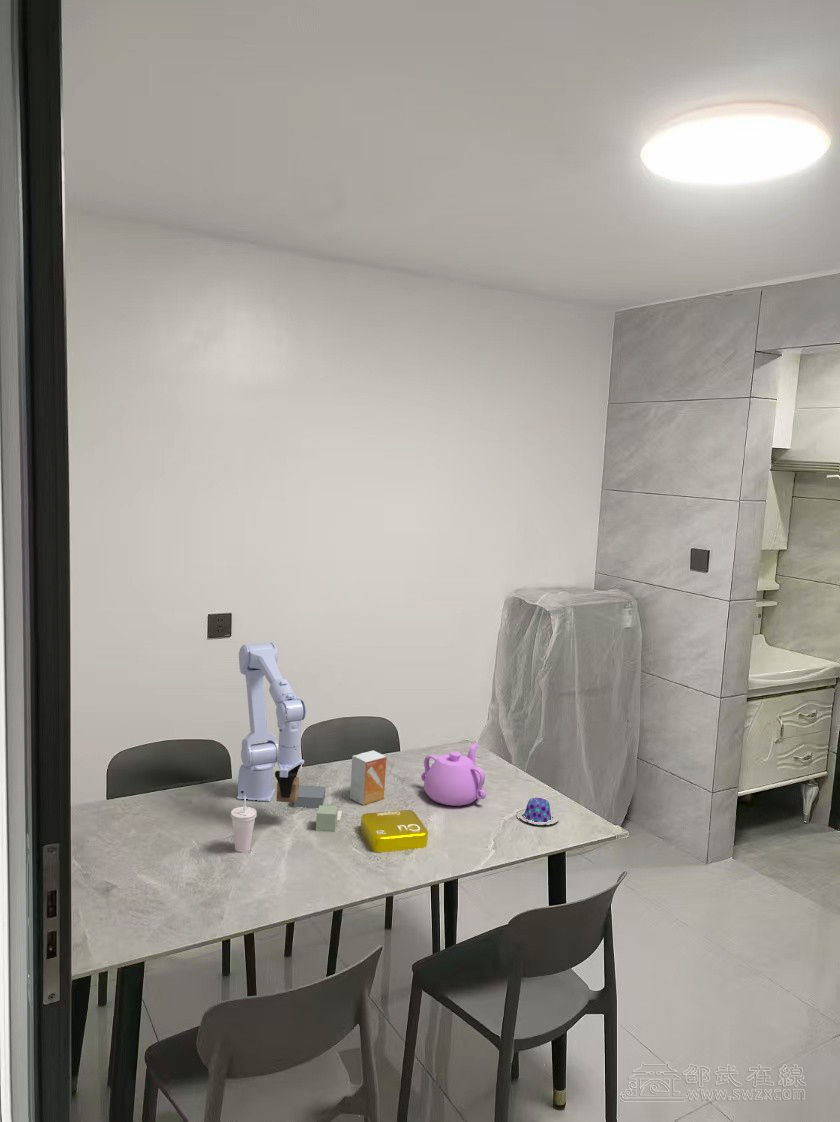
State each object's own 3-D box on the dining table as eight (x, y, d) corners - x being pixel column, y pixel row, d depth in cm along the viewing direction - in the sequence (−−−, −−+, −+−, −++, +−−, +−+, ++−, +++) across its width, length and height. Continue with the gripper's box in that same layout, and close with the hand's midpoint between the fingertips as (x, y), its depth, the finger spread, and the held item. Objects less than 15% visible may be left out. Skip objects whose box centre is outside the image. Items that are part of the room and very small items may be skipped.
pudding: (513, 824, 233) (515, 806, 233) (519, 807, 245) (520, 790, 244) (556, 831, 230) (558, 813, 230) (560, 813, 242) (562, 796, 241)
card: (317, 819, 228) (317, 818, 228) (321, 810, 234) (321, 809, 234) (339, 821, 228) (339, 819, 228) (342, 811, 234) (342, 810, 234)
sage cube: (315, 831, 222) (316, 813, 221) (318, 822, 227) (319, 805, 226) (334, 832, 221) (335, 814, 221) (337, 824, 226) (337, 806, 226)
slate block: (293, 808, 235) (294, 796, 235) (297, 796, 243) (297, 785, 242) (322, 809, 235) (322, 798, 235) (325, 798, 243) (325, 786, 243)
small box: (363, 805, 239) (365, 762, 237) (349, 798, 243) (351, 755, 241) (384, 798, 244) (387, 756, 242) (370, 791, 249) (372, 749, 247)
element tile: (411, 823, 230) (412, 807, 229) (429, 849, 216) (430, 831, 215) (358, 828, 225) (359, 811, 225) (373, 854, 211) (374, 836, 211)
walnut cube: (276, 801, 222) (277, 783, 221) (280, 793, 227) (280, 776, 226) (295, 802, 222) (295, 784, 221) (298, 794, 227) (299, 777, 226)
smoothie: (233, 856, 205) (234, 802, 203) (226, 845, 211) (228, 792, 209) (258, 852, 208) (260, 798, 206) (251, 840, 214) (253, 788, 212)
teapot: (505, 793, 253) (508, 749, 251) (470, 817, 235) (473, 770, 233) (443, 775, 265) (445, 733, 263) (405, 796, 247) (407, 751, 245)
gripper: (299, 755, 215) (297, 805, 217) (308, 735, 229) (306, 783, 231) (272, 753, 215) (270, 803, 217) (283, 734, 230) (281, 781, 231)
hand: (287, 792), depth 224 cm, fingers closed on walnut cube, 5 cm apart
